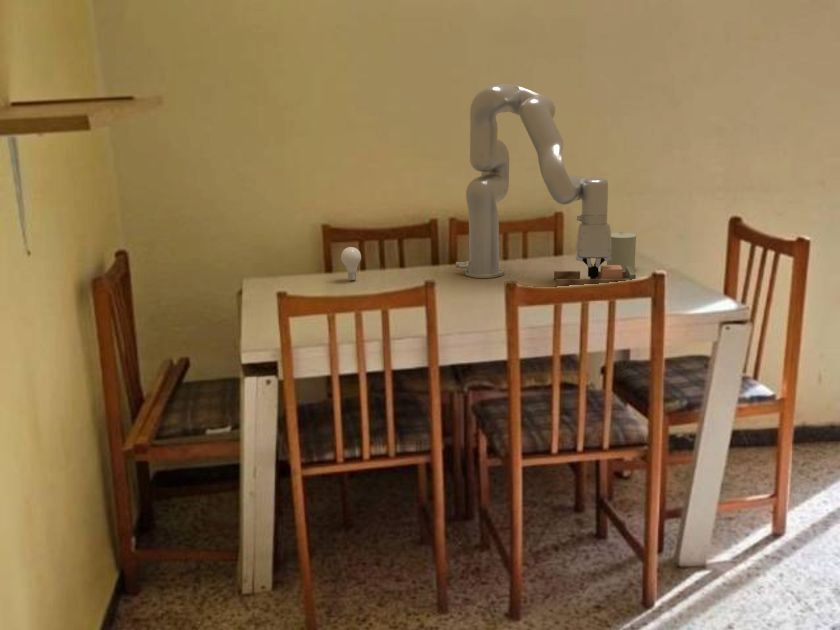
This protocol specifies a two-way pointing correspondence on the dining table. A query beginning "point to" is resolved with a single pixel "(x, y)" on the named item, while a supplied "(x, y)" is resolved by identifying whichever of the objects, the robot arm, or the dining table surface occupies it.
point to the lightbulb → (351, 261)
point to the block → (611, 272)
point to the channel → (574, 279)
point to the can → (623, 250)
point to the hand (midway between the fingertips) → (592, 278)
